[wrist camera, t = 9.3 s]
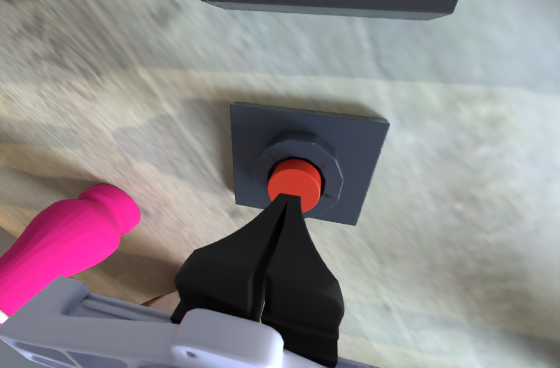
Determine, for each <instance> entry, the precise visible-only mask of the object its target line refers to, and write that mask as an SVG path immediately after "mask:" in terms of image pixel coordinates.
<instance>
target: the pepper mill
mask: <svg viewBox="0 0 560 368" xmlns="http://www.w3.org/2000/svg"><path fill="white" fill-rule="evenodd" d="M139 221H140V211H139V209H138V207H137V205H136V204H135V202H134V201H133V200H132V199H131V198H130V197H129V196H128V195H127V194H126V193H124V192H123V191H121V190H120V189H118V188H116V187H113V186H111V185H106V184H98V185H95V186H93V187H92V188H90V189H88V190H86V191H85V192H83V193H81V194H80V196H79V198H78V199H69V200H61V201H58V202H55V203H54V204H52V205H50V206H49V207H47V208H46V209H45V210H43V211H42V212H40V213H39V214H38V215H37V216H36V217H35V218H34V219H33V220H32V221H31V222H30V224H29V225H28V226H27V228H26V229H25V230H24V232H23V233H22V234H21V236H20V237H19V239H18V240H17V241H16V242H15V244H14V245H13V246H12V247H11V248H10V249H9V250H8V251H7V252H6V253H5V254H4V255H3V256H2V257H1V258H0V325H1V324H2V323H3V322H4V321H6V320H7V319H8V318H9V317H10V316H11V315H13V314H14V313H15V312H16V311H17V310H19V309H20V308H21V307H22V306H23V305H25V304H26V303H27V302H28V301H29V300H31V299H32V298H33V297H34V296H35V295H37V294H38V293H39V292H40V291H41V290H43V289H44V288H45V287H46V286H47V285H49V284H50V283H51V282H52V281H53V280H55V279H56V278H57V277H58V276H64V277H70V276H72V275H74V274H76V273H79V272H81V271H84V270H86V269H88V268H90V267H93V266H94V265H96V264H98V263H100V262H101V261H103V260H105V259H106V258H107V257H108V256H110V255H111V254H112V253H113V252H114V251H115V250H116V249H117V248H118V246H119V243H120V238H121V235H125V234H127V233H128V232H129V231H130V230H132V229H133V228H134V227H135V226H136V225H137V224H138V223H139Z"/></svg>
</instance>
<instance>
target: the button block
mask: <svg viewBox="0 0 560 368" xmlns="http://www.w3.org/2000/svg"><path fill="white" fill-rule="evenodd" d="M230 115H231V132H232V149H233V166H234V184H235V201H236V204H238V205H243V206H249V207H254V208H260V209H265V208H266V207H267V206H268V205H269V204H270V203H271V202H272V201H271V199H270V197H269V194H268V183H269V180H270V178H271V176H272V174H273V172H274V170H275V168H276V167H277V166H278V165H279V164H280V163H282V162H284V161H286V160H290V159H300V160H304V161H306V162H308V163H310V164H311V165H313V166H314V167H315V168H316V169H317V171H318V172H319V174H320V178H321V189H320V197H319V200H318V202H317V204H316V205H315V206H314V207H313V208H312V209H310V210H308V211H306V212H303V216H304V218H308V217H309V218H315V219H320V220H326V221H331V222H337V223H342V224H348V225H353V226H356V223H357V221H358V218H359V215H360V212H361V209H362V206H363V203H364V200H365V197H366V194H367V191H368V188H369V185H370V182H371V179H372V176H373V173H374V170H375V167H376V164H377V162H378V159H379V156H380V153H381V150H382V147H383V144H384V141H385V138H386V135H387V132H388V129H389V126H390V124H389V122H388V121H387V120H386V119H380V118H371V117H363V116H354V115H345V114H337V113H328V112H319V111H311V110H302V109H293V108H285V107H276V106H267V105H259V104H250V103H241V102H235V103H233V104H231V105H230Z"/></svg>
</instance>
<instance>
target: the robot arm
mask: <svg viewBox="0 0 560 368" xmlns="http://www.w3.org/2000/svg"><path fill="white" fill-rule="evenodd" d="M301 199H302V198H301V197H300V196H297V195H291V194H285V193H279V194H278V195H277V196H276V198H275V199H274V200H273V201H272V202H271V203H270V204H269V205H268V206H267V207H266V208H265V209H264V210H263V211H262V212H261V213H260V214H259V215H258V216H257V217H255V218H254V219H253V220H252V221H250V222H249V223H248V224H246V225H245V226H244V227H242V228H241V229H239V230H237V231H236V232H234V233H232V234H231V235H229V236H227V237H225V238H223V239H221V240H219V241H217V242H214V243H212V244H210V245H207V246H204V247H202V248H199V249H196V250H194V252H193V253H192V254H191V255H190V256H189V257H188V259H187V260H186V261H185V263H184V264H183V266H182V267H181V268H180V270H179V271H178V273H177V274H176V277H175V284H176V288H177V291H178V294H179V297H180V302H179V304H178V305H177V307H176V309H175V310H174V312H173V314H172V313H168V312H165V311H161V310H157V309H153V308H149V307H145V306H142V305H138V304H134V303H130V302H126V301H122V300H119V299H115V298H111V297H107V296H103V295H99V294H96V293H91V292H90V290H89V288H88V286H87V285H86V284H85V283H83V282H82V281H79V280H76V279H72V278H68V277H64V276H58V277H57V278H56V279H55V280H53V281H52V282H51V283H50V284H49V285H47V286H46V287H45V288H44V289H43V290H41V291H40V292H39V293H38V294H37V295H35V296H34V297H33V298H32V299H31V300H29V301H28V302H27V303H26V304H25V305H23V306H22V307H21V308H20V309H19V310H17V311H16V312H15V313H14V314H13V315H11V316H10V317H9V318H8V319H7V320H6V321H4V322H3V323H2V324H1V325H0V339H1V340H3V341H4V342H6V343H7V344H8V345H10V346H11V347H12V348H14V349H15V350H17V351H18V352H19V353H21V354H22V355H23V356H25V357H26V358H27V359H29V360H31V361H35V362H37V363H40V364H43V365H46V366H49V367H52V368H379V367H375V366H371V365H368V364H364V363H360V362H356V361H352V360H348V359H345V358H341V357H338V349H337V340H338V338H339V325H340V323H341V321H342V318H343V316H344V302H343V297H342V292H341V289H340V285H339V282H338V280H337V279H336V278H335V277H334V275H333V274H332V273H331V271H330V270H329V269H328V267H327V266H326V264H325V263H324V261H323V260H322V258H321V256H320V255H319V253H318V251H317V250H316V248H315V246H314V244H313V242H312V239H311V237H310V235H309V232H308V229H307V227H306V223H305V220H304V216H303V212H302V205H301ZM264 301H265V304H264ZM263 305H264V308H263ZM262 309H263V312H262ZM261 314H262V315H261ZM260 318H261V323H259V322H260Z"/></svg>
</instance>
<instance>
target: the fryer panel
mask: <svg viewBox="0 0 560 368" xmlns="http://www.w3.org/2000/svg"><path fill="white" fill-rule="evenodd" d="M201 1H203V2H206V3H208V4H211V5H214V6H217V7H220V8H223V9H230V10H248V11H266V12H284V13H302V14H320V15H337V16H355V17H373V18H391V19H409V20H427V21H428V20H431V19H435V18H438V17H442V16H446V15H449V14H452V13H453V12H454V9H455V6H456V4H457V1H458V0H201Z"/></svg>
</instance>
